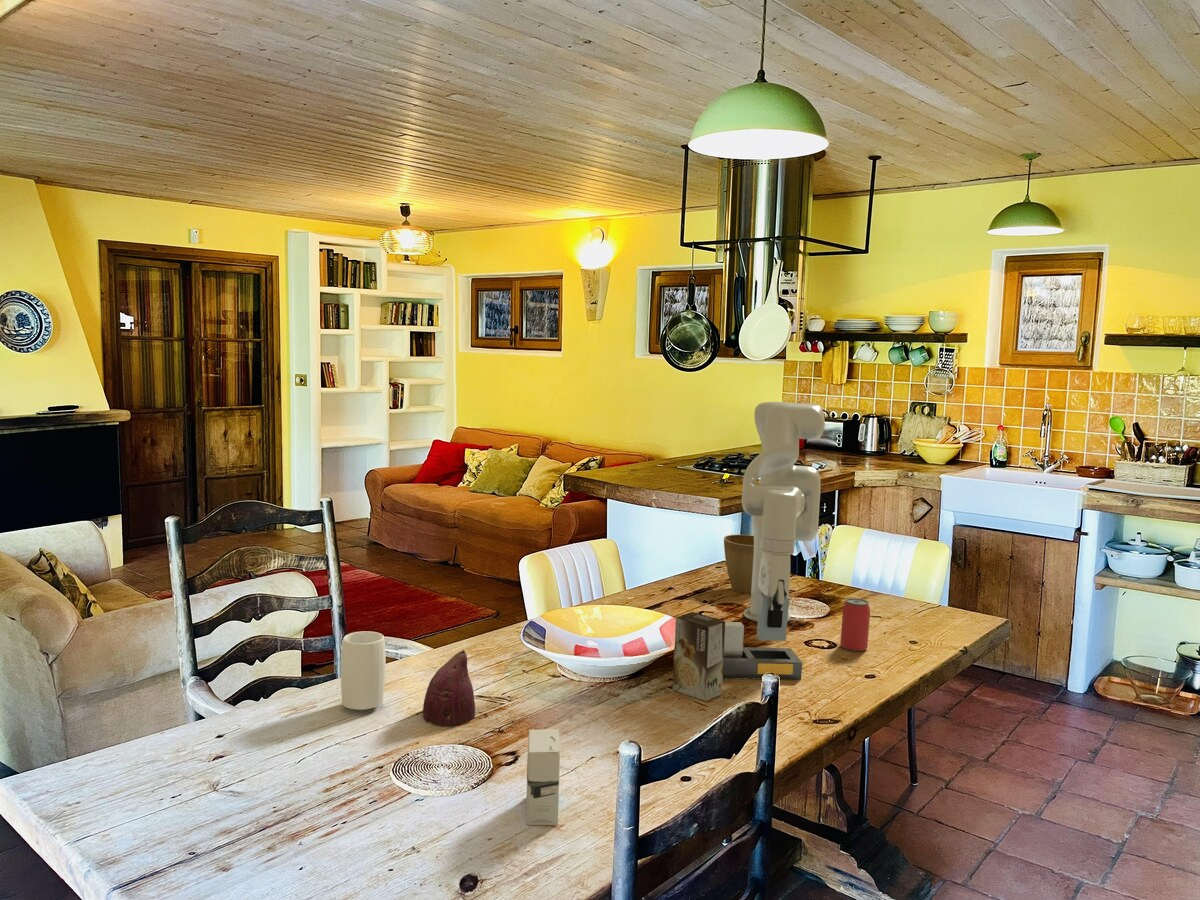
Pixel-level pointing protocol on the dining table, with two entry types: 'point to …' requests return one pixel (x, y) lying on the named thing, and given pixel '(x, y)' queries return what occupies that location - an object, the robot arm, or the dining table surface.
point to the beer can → (855, 624)
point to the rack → (756, 658)
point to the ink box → (543, 777)
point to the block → (762, 627)
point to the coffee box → (698, 655)
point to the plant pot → (739, 561)
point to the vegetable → (450, 694)
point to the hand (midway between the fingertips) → (772, 624)
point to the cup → (363, 670)
